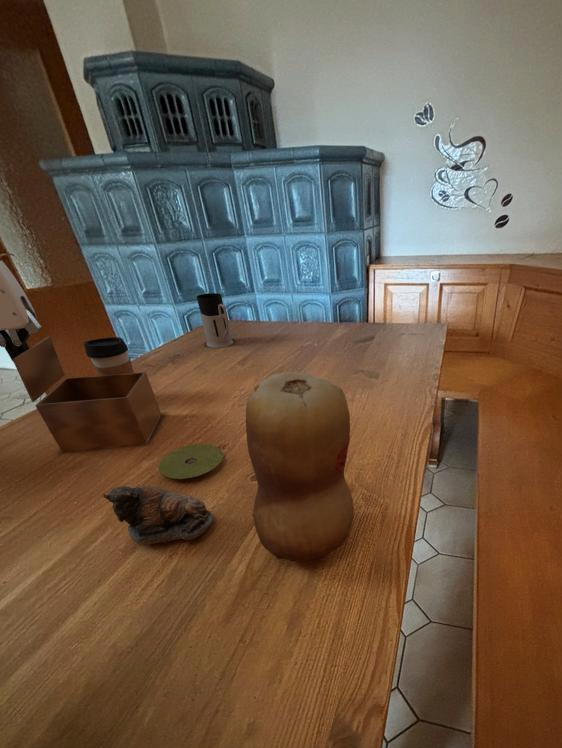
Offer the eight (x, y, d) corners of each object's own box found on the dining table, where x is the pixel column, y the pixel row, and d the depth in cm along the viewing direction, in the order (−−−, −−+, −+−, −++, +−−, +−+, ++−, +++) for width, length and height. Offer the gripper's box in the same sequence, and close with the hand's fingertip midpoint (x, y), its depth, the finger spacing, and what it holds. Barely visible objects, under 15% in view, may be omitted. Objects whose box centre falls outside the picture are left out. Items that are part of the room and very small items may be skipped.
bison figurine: (215, 512, 62) (198, 461, 56) (216, 543, 57) (197, 490, 50) (134, 529, 59) (107, 477, 53) (127, 563, 54) (96, 510, 48)
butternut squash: (343, 587, 50) (333, 416, 35) (247, 573, 52) (197, 406, 37) (361, 515, 61) (360, 361, 46) (281, 506, 63) (254, 356, 48)
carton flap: (34, 401, 70) (31, 401, 70) (64, 374, 80) (62, 374, 80) (14, 359, 65) (12, 359, 65) (49, 336, 75) (47, 336, 75)
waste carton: (62, 453, 77) (34, 405, 70) (87, 422, 87) (65, 377, 80) (147, 445, 79) (127, 397, 72) (161, 415, 89) (145, 372, 82)
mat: (227, 449, 77) (225, 440, 76) (221, 482, 68) (219, 474, 67) (169, 455, 76) (166, 446, 74) (155, 490, 67) (151, 481, 66)
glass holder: (226, 338, 135) (215, 291, 125) (246, 347, 126) (236, 298, 117) (202, 343, 130) (189, 295, 121) (221, 354, 122) (209, 303, 112)
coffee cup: (102, 403, 94) (74, 342, 85) (135, 391, 100) (111, 332, 91) (120, 412, 90) (93, 348, 81) (153, 399, 96) (131, 338, 87)
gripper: (-109, 259, 57) (-30, 376, 68) (2, 254, 59) (61, 369, 70) (-73, 252, 63) (-6, 361, 74) (27, 248, 65) (78, 355, 76)
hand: (27, 365), depth 72 cm, fingers closed
